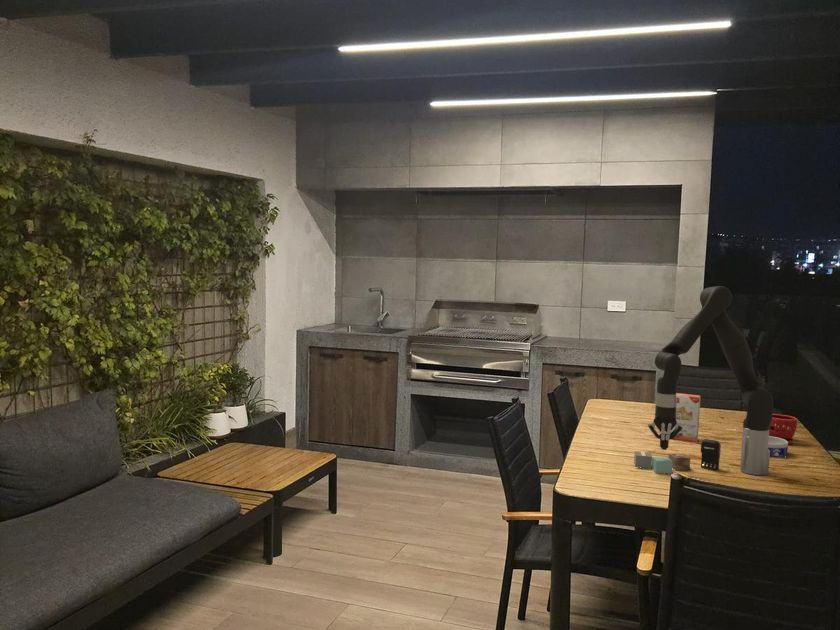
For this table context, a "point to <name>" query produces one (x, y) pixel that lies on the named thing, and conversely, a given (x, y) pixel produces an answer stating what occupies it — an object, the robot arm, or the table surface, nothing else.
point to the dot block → (680, 461)
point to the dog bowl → (777, 447)
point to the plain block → (662, 465)
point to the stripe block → (643, 459)
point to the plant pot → (783, 431)
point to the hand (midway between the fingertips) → (663, 449)
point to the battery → (710, 454)
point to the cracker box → (687, 416)
